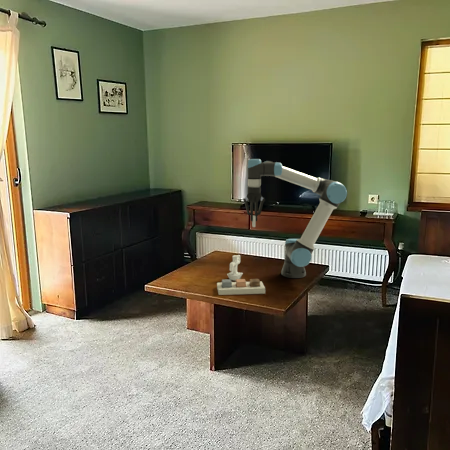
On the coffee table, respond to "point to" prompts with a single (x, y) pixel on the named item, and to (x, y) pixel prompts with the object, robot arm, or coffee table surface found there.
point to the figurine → (234, 268)
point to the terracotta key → (240, 283)
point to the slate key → (226, 283)
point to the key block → (240, 289)
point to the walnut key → (254, 283)
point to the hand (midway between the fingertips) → (253, 226)
